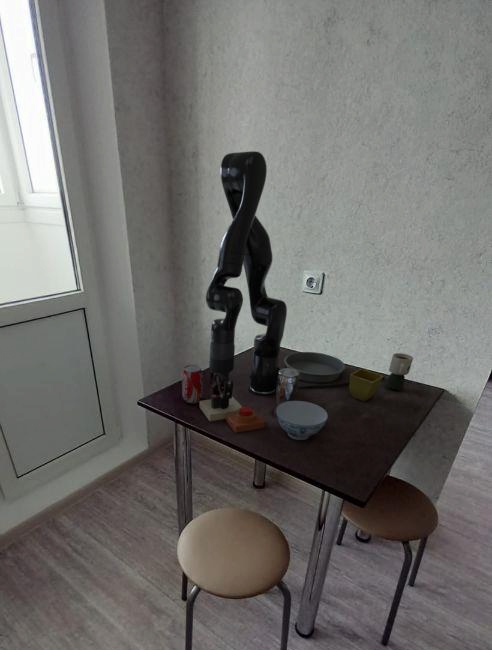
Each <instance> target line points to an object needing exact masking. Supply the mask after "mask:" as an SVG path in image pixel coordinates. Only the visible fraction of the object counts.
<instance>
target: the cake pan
mask: <svg viewBox="0 0 492 650" xmlns="http://www.w3.org/2000/svg"><path fill="white" fill-rule="evenodd" d="M283 362H284V364H285V365H286V368H289V369H294V370H297V371H298V372H299V380H301V381H304V382H308V383H314V384H315V383H317V384H322V383H323V384H324V383H331V382H335V381H336V380H338V379H339V378H340V376H341V373H343V372H344V371H345V369H346V364H345V363H344V362H343V361H342V360H341V359H339V358H337V357H335V356H333V355H329V354H326V353H321V352H313V351H297V352H292V353H290V354H287V355H286V357H285V358H284V359H283Z"/></svg>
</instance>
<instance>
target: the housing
mask: <svg viewBox="0 0 492 650" xmlns="http://www.w3.org/2000/svg"><path fill="white" fill-rule="evenodd" d="M225 421H226V423H227V424H228V425H229V427H230V428H231V429H232V430H233V431H234V432H235V433H241V432H247V431H252V430H259V429H264V428H266V421H265V420H264V418H262V416H260V414H259V413H258V412H256V410H254V409H252V414H251V416H242V415H240V409H238V410H236V412H235V413H233V414H227V415H226V419H225Z"/></svg>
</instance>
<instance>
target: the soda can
mask: <svg viewBox="0 0 492 650" xmlns="http://www.w3.org/2000/svg"><path fill="white" fill-rule="evenodd" d="M203 393H204V372H203V371H202V367H201V366H200V365H197V364H188V365H185V366H184V367H183V370H182V372H181V394H182V395H181V396H182V400H183V401H184V402H186V403H188V404H198V403H200V401H203Z"/></svg>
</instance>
